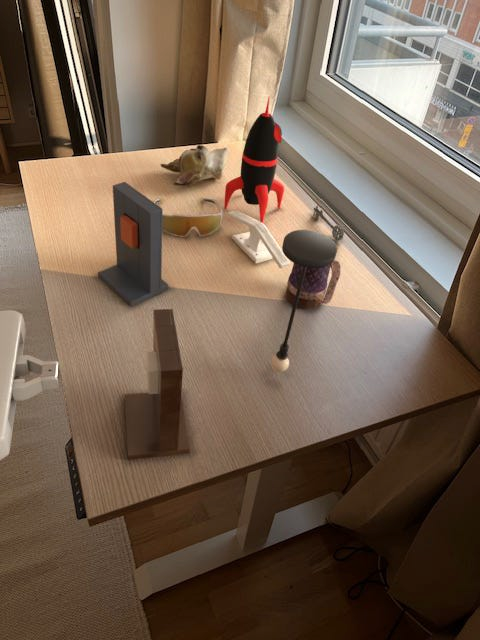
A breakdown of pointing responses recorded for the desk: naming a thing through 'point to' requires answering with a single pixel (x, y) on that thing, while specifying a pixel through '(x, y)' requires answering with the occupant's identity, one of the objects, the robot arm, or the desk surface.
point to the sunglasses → (191, 222)
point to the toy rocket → (259, 165)
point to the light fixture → (303, 273)
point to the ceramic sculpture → (198, 165)
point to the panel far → (136, 248)
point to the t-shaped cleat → (258, 241)
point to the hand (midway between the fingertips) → (58, 374)
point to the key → (334, 232)
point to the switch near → (152, 372)
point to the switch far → (129, 231)
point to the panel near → (159, 399)
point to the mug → (313, 285)
